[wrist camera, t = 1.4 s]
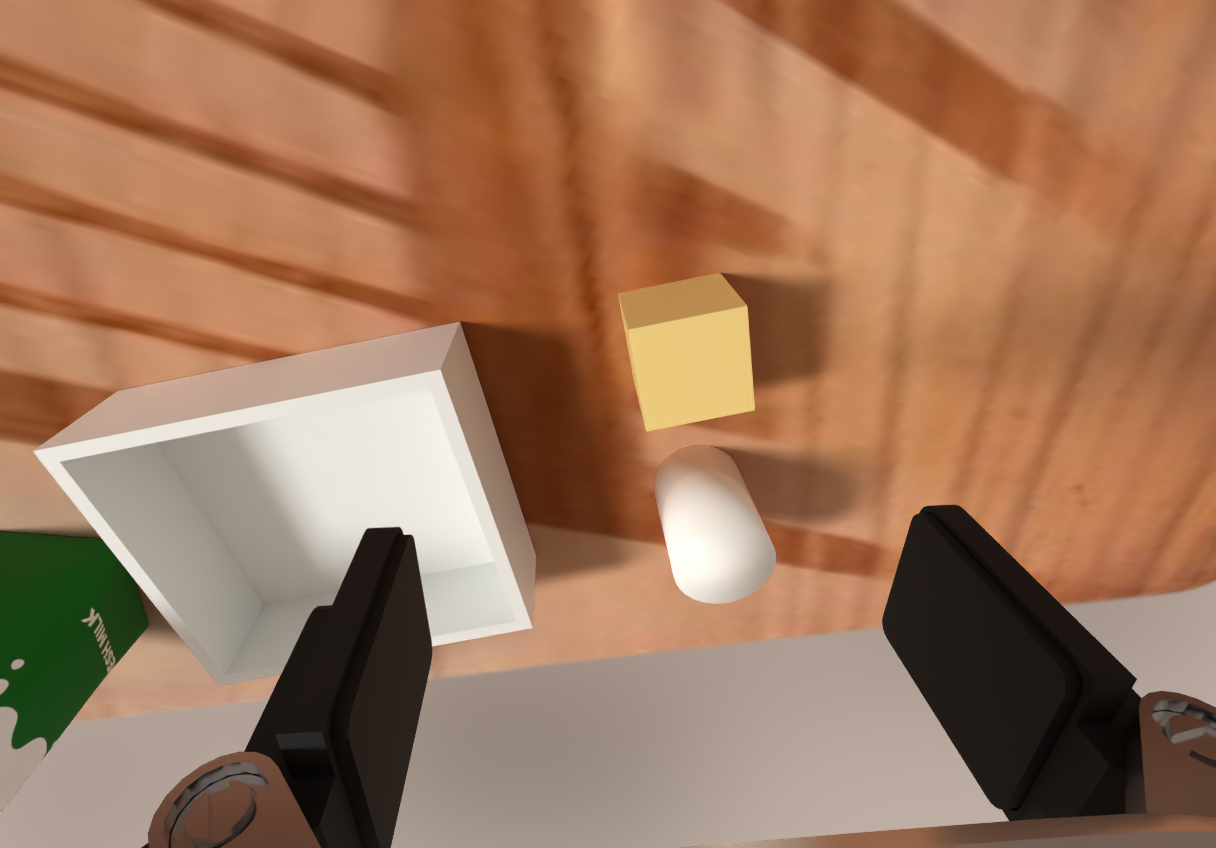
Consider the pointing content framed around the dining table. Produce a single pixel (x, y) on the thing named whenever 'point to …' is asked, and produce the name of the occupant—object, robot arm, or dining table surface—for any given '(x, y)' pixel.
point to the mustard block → (688, 350)
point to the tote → (303, 493)
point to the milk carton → (56, 640)
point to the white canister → (711, 526)
